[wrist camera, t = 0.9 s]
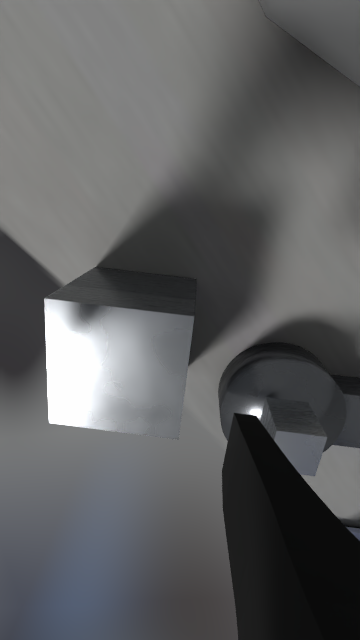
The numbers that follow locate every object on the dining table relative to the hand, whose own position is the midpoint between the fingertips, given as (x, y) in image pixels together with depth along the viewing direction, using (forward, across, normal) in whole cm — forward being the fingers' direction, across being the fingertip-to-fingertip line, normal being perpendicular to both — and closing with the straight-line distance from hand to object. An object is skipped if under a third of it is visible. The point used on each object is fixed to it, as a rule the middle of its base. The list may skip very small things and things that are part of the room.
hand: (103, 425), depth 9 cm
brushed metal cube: (+9, 0, 0) cm, 9 cm away
